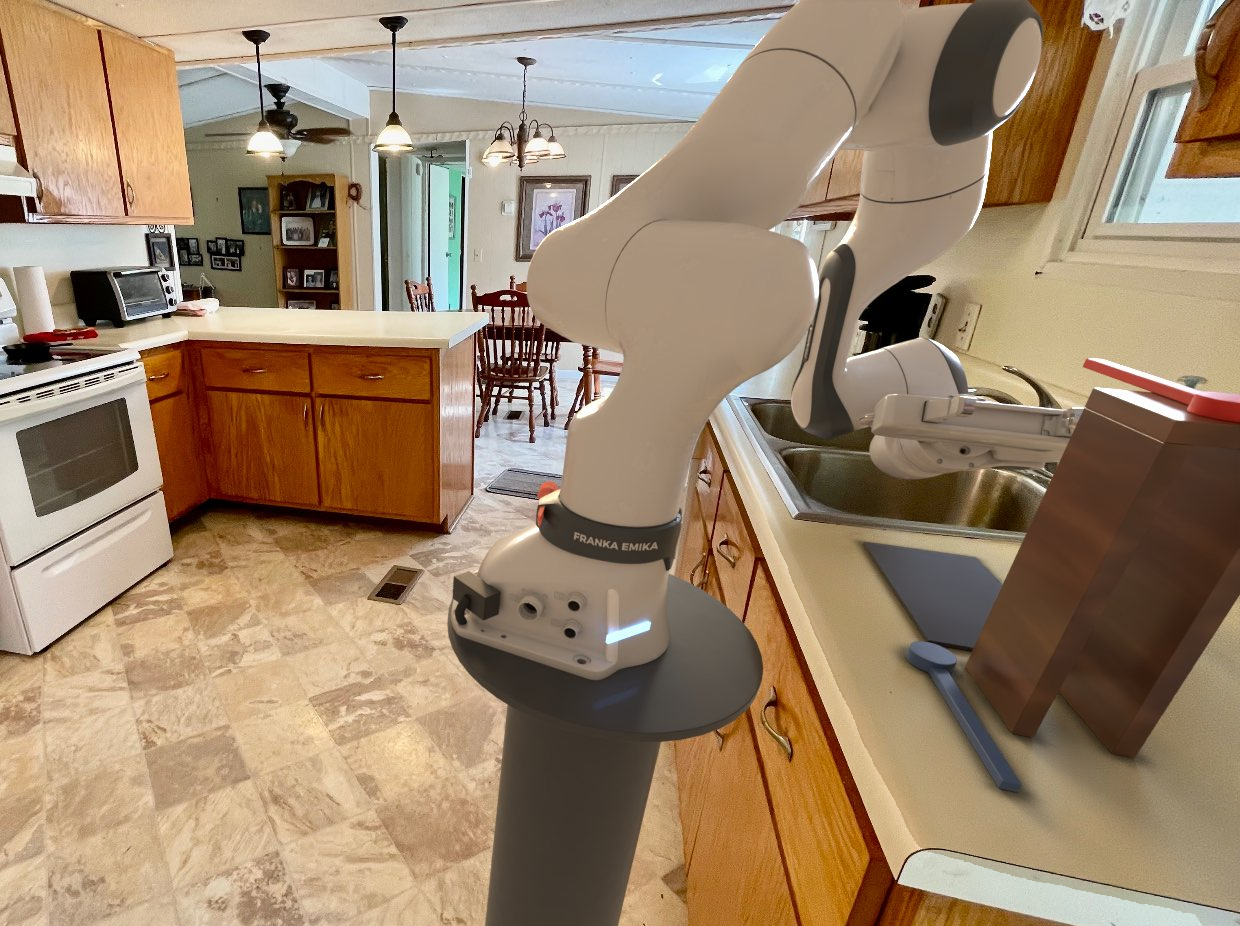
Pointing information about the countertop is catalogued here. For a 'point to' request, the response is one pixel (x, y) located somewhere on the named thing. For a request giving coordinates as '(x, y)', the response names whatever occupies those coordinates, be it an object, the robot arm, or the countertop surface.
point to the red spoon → (1173, 391)
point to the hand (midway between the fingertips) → (1023, 410)
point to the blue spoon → (962, 709)
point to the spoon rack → (1118, 571)
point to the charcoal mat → (939, 591)
